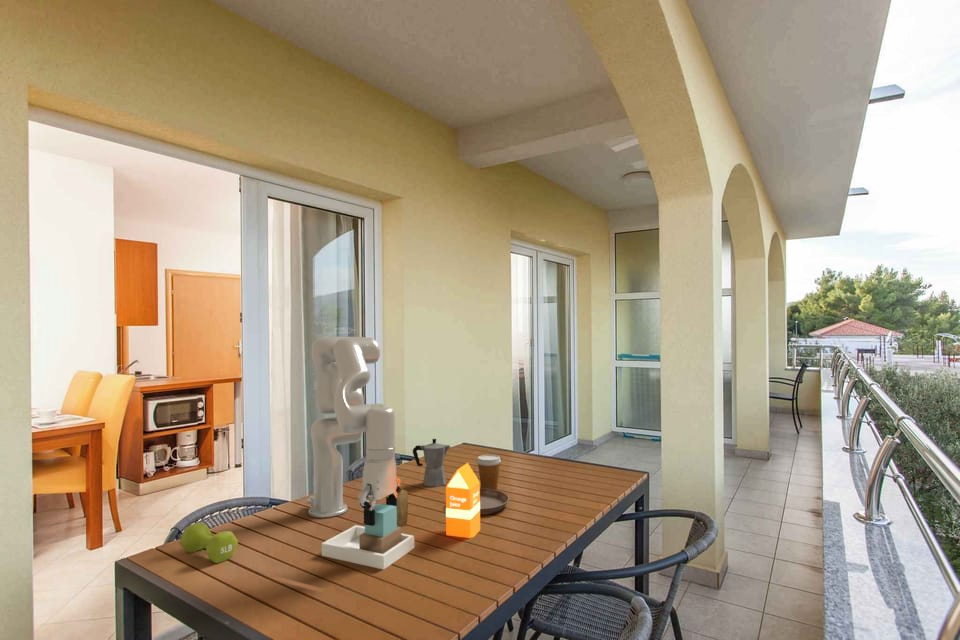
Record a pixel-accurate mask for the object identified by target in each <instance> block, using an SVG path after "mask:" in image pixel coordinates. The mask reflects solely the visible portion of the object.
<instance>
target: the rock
mask: <svg viewBox="0 0 960 640" xmlns="http://www.w3.org/2000/svg"><path fill="white" fill-rule="evenodd" d="M408 499H409V493H408V491H407V490H405V489H403V488H402V489H401V490H400V491H399V492H398V497H397V527H401V528H402V527H407V525H408V524H407V523H408V514H409V511H408V509H409V500H408Z"/></svg>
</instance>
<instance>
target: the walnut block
mask: <svg viewBox="0 0 960 640" xmlns="http://www.w3.org/2000/svg"><path fill="white" fill-rule="evenodd" d="M401 533H402V527H398V526H397V529H396V530H394V531H392V532H391V533H389V534H388V535H386V536H384V537H381V536H375V535H370V534H365V532H364V533H363V534H361V535H360V549H361V550H366V551H371V552H376V553H380V554H384V553H385V552H387V551H388V550H390V549H391V548H393V547H394V546H396V545H397V544H399V543H400V542H401Z"/></svg>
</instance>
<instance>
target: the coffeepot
mask: <svg viewBox="0 0 960 640" xmlns="http://www.w3.org/2000/svg"><path fill="white" fill-rule="evenodd" d="M450 448H451V446H450V445H449V444H443V443H438V442H437V438H432V442H431V443H429V444H425V445H424V444H423V445H421V444H419V445H415V446H414V448H413V449H412V455H413V457H414V460H415V463H416V466H418V467H423V465H424V464H423V463H421V462H420V458H419V456H418V451H423V458H424V463H425V464H426V465H425V466H426V467H425V468H424V469H425V470H424V477H423V480H422V481H423V483H422V484H423V485H424V486H425V487H432V488H434V487H435V488H436V487H443V486H444V485H446V482H447V480H446V475H445V469H444V465H443V464H444V461H445V456H446V455H447V452H448V450H449V449H450Z"/></svg>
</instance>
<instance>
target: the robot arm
mask: <svg viewBox="0 0 960 640" xmlns="http://www.w3.org/2000/svg"><path fill="white" fill-rule="evenodd" d="M380 356H381V349H380V345H379V343H378V342H377V341H376V339H374V338H372V337H366V336H365V337H364V336H322V337H319V338H317V339H315V340H314V341H313V342H312V345H311V358H312V362H313V365H314V369H315V374H316V376H315V377H316V378H315V380H316V381H315V382H316V385H315V391H316V392H315V407H316V410H317V411H318V412H319V414H323V415H324V414H325V415H331V414H335V416H331V417H330V416H329V417H323V418H319V419H317V420H315V421H313V423H312V425H311V427H310V437H311V442H312V453H313V455H312V456H313V495H309V496H308V498H307V499H306V501H305V502H306V504H310V508H308V515H309V516H311V517H314V518H332V517H335V516H340V515H342V514H344V513H346V512H347V510H348V504H346V503H345V502H344V501H343V497H344V495H343V494H344V493H343V491H344V489H343V488H344V487H343V485H344V482H343V481H344V480H343V479H344V477H343V475H344V474H343V472H344V471H343V470H344V469H343V468H344V467H343V466H344V465H343V464H344V462H343V461H344V459H343V456H342V454H341V452H339V450H338V449H337V447H336V446H339V445H346V444H353V443H357V442H360V441H361V440H362V438H363V436H364V435H363V434H364V432H366V433H365V434H366V435H365V436H366V437H365V439H366V441H365V443H366V446H365V447H366V448H365V450H366V451H365V453H366V454H365V455H366V457H365V458H366V461H364V465H363V471H362V481H361V492H360V493H359V494H358V496H357V499H358V501H359V505H360V507H361V509H362V510H363V524H364V526H365V525H370V526H374V525H375V510H374V509H373V508H374V506H375V505H376V504H377V501H380V500H382V499H384V498H385V505H391V506H397V497H398V494H399V492H400V491H399V490H400V486H401V481H402V480H401V478H400V477H399V476H398V475H397V473H398V472H397V461H396V439H395V438H396V436H395V434H396V432H395V431H396V430H395V426H396V425H395V423H396V420H395V418H396V417H395V416H396V414H395V411H394V410H395V409H393V407H390V406H389V407H388V406H387V405H385V404H383V403H369V404H367V403H365V399H364V397H365V396H364V393H363V390H362V388H363V387H366V385H367V384H368V383H369V382H370V380H371V372H370V370H369V367H368V365H369V364H370V365H371V364H372V365H373V364H375V363H377V362H378V361H379V359H380ZM369 502H370V503H369Z"/></svg>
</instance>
